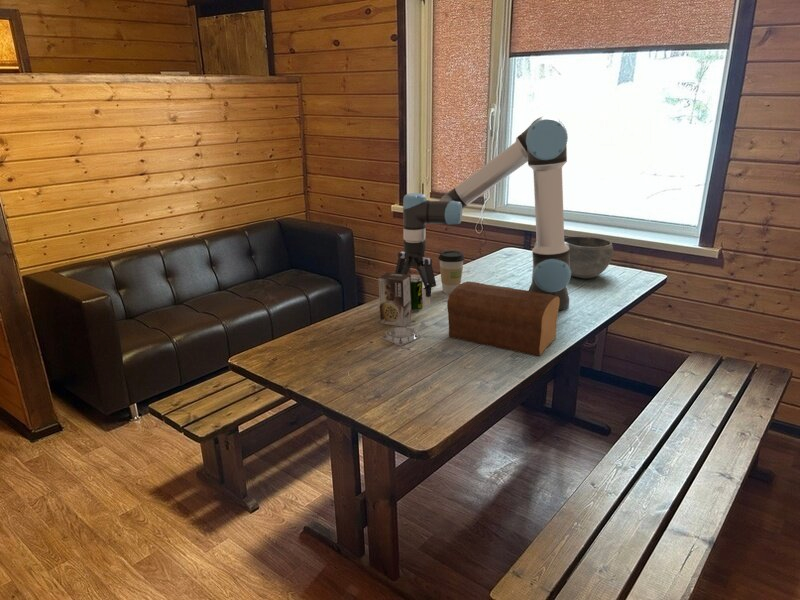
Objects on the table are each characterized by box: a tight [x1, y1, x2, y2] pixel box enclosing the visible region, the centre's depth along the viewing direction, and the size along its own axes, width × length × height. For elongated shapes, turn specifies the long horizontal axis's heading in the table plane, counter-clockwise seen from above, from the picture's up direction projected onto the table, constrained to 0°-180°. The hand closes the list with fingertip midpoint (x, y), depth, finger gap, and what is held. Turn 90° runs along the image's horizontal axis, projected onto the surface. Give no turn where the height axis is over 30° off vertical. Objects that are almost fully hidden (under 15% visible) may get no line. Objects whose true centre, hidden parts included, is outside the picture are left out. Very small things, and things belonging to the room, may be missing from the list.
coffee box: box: [378, 272, 412, 327], centre depth 191 cm, size 9×6×16 cm
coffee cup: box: [438, 250, 465, 295], centre depth 220 cm, size 10×10×15 cm
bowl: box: [564, 235, 614, 279], centre depth 235 cm, size 21×21×15 cm
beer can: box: [410, 274, 424, 312], centre depth 203 cm, size 5×5×12 cm
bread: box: [446, 281, 560, 356], centre depth 178 cm, size 18×30×16 cm, turn 59°
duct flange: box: [380, 326, 422, 347], centre depth 181 cm, size 9×9×2 cm
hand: (414, 301), depth 204 cm, fingers open, 10 cm apart
